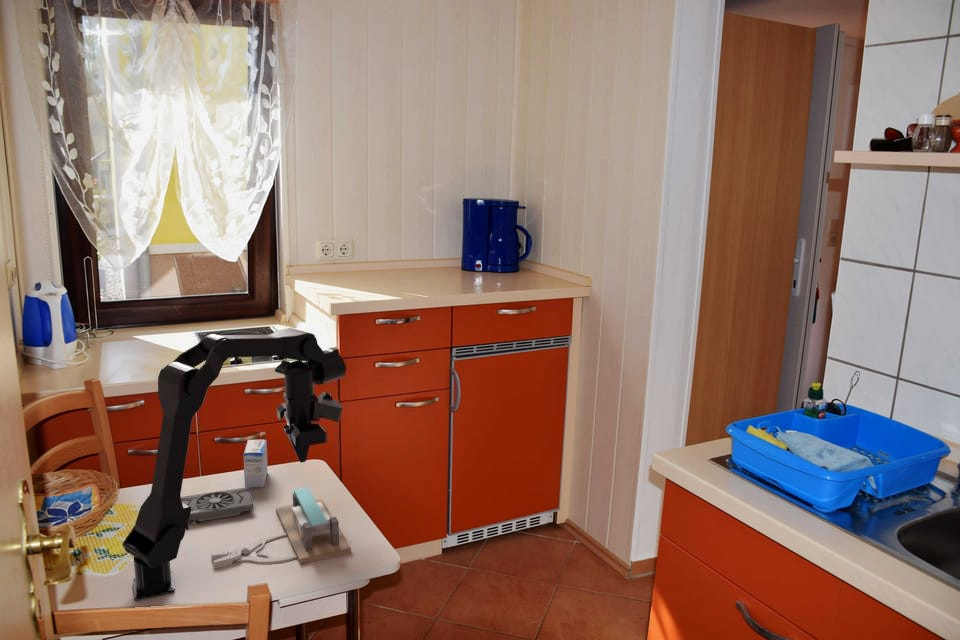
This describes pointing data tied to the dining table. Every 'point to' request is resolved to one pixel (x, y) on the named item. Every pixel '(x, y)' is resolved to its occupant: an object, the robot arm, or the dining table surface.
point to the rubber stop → (295, 501)
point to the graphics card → (218, 504)
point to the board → (316, 541)
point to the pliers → (228, 558)
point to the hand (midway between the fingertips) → (302, 461)
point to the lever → (311, 509)
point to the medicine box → (255, 463)
